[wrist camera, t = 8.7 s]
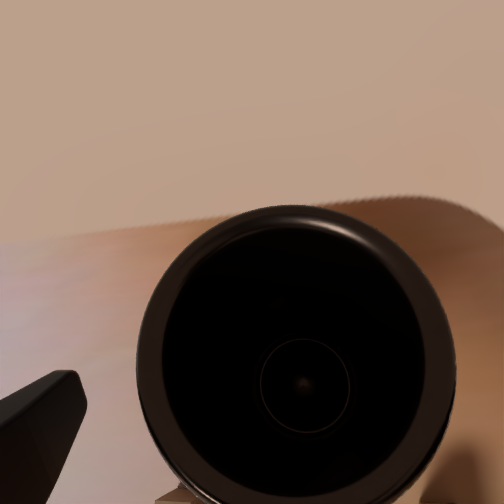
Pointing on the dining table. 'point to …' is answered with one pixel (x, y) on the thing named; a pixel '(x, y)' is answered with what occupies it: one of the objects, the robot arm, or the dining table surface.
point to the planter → (296, 362)
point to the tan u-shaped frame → (184, 500)
